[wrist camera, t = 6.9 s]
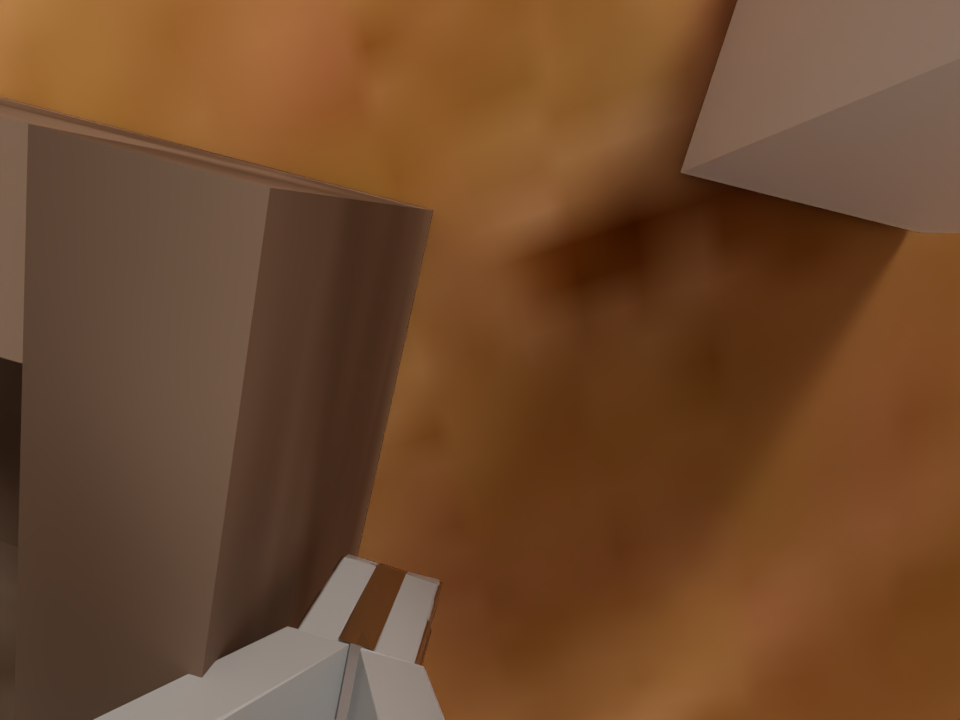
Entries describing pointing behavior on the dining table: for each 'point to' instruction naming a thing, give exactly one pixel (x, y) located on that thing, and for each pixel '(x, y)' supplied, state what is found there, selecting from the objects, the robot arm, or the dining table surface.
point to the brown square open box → (179, 401)
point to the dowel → (839, 108)
